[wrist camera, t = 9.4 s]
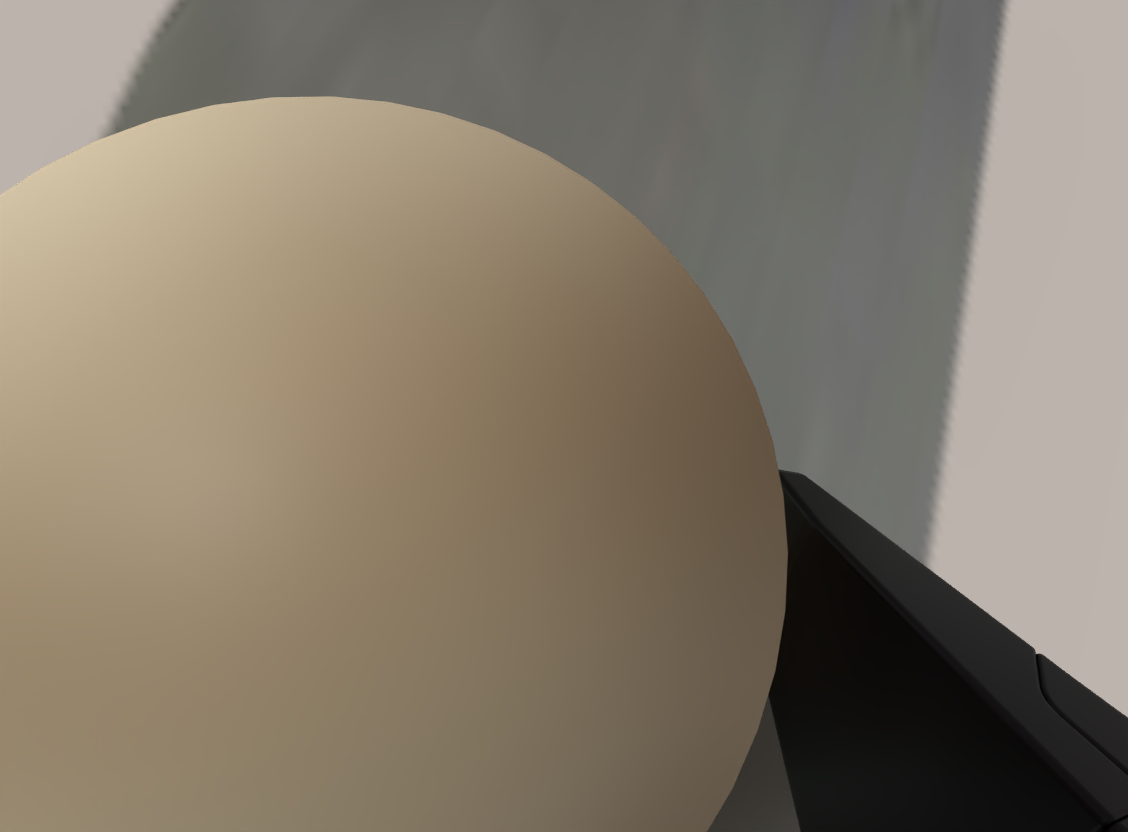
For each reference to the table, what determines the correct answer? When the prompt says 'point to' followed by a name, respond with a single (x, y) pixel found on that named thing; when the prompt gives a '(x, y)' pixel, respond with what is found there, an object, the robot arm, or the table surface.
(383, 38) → the table surface
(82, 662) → the maple dowel
